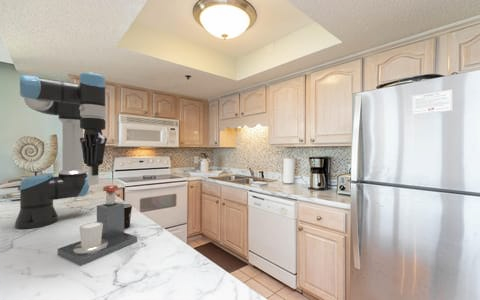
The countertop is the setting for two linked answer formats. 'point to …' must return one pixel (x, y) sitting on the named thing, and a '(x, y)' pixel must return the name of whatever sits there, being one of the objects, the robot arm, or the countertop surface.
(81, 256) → the press
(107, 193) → the ram
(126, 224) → the coffee mug
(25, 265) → the countertop surface
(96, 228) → the white tapered cup
